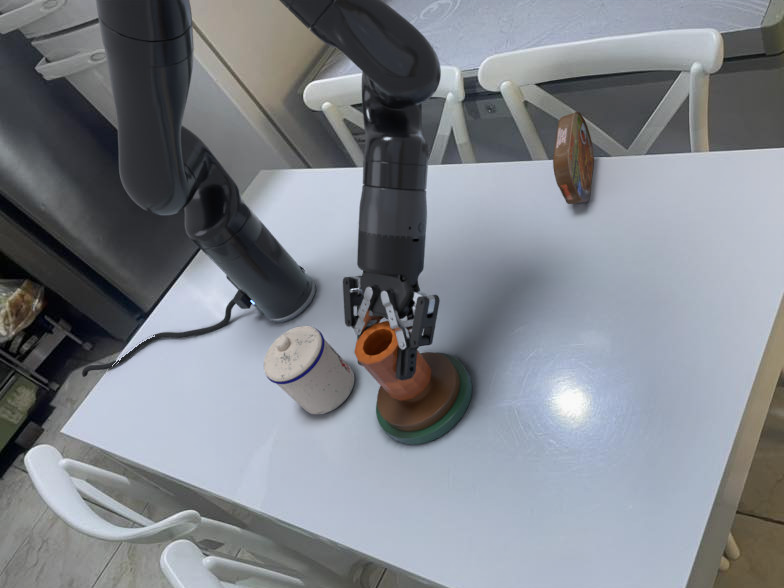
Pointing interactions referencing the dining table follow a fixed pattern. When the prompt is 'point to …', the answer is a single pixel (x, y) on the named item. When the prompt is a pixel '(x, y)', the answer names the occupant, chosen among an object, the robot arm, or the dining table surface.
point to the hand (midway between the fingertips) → (385, 371)
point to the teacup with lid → (309, 370)
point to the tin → (573, 158)
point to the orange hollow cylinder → (389, 362)
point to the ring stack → (428, 403)
